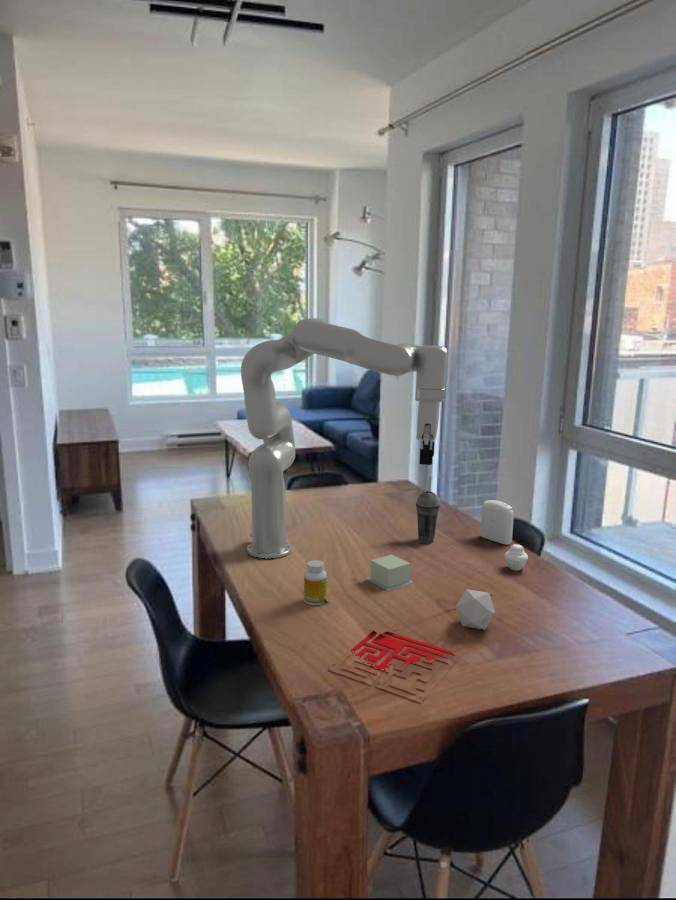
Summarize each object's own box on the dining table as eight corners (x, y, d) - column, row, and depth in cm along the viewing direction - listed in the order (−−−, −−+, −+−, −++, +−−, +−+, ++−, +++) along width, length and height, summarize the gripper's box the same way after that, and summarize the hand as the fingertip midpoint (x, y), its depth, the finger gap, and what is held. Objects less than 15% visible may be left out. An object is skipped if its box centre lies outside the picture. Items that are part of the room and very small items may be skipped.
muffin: (527, 573, 176) (529, 549, 175) (504, 571, 177) (506, 547, 176) (526, 565, 182) (528, 541, 181) (503, 562, 183) (505, 539, 182)
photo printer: (477, 536, 204) (480, 498, 201) (486, 533, 206) (489, 496, 204) (505, 546, 196) (508, 507, 193) (513, 543, 199) (517, 504, 196)
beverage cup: (411, 543, 197) (414, 479, 193) (417, 535, 204) (420, 473, 199) (434, 546, 194) (438, 481, 190) (440, 538, 201) (444, 476, 197)
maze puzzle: (327, 672, 128) (328, 669, 128) (376, 630, 145) (376, 628, 145) (421, 706, 118) (421, 702, 118) (461, 657, 135) (462, 654, 135)
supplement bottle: (323, 607, 155) (324, 568, 153) (301, 604, 156) (301, 566, 154) (328, 597, 160) (329, 560, 158) (307, 595, 161) (307, 558, 159)
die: (475, 641, 142) (503, 606, 141) (444, 614, 145) (471, 580, 144) (479, 637, 149) (505, 604, 149) (449, 611, 152) (475, 579, 152)
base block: (370, 578, 168) (371, 560, 167) (391, 572, 172) (391, 554, 171) (388, 588, 163) (389, 569, 161) (409, 581, 167) (410, 563, 165)
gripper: (417, 389, 176) (414, 451, 180) (412, 398, 159) (409, 467, 163) (445, 391, 174) (442, 453, 178) (444, 400, 158) (440, 469, 162)
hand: (426, 459), depth 171 cm, fingers open, 9 cm apart
